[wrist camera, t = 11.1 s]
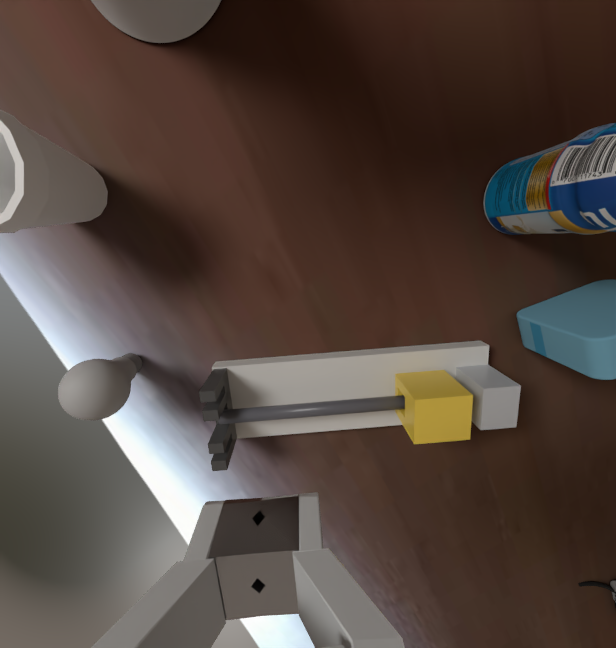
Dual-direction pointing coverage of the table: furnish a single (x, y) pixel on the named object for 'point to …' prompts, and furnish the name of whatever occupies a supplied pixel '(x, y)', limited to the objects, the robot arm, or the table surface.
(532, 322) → the data package
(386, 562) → the table surface
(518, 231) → the beverage bottle
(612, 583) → the bike brake
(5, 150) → the foam cup
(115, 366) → the lightbulb
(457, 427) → the sleeve
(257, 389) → the board
